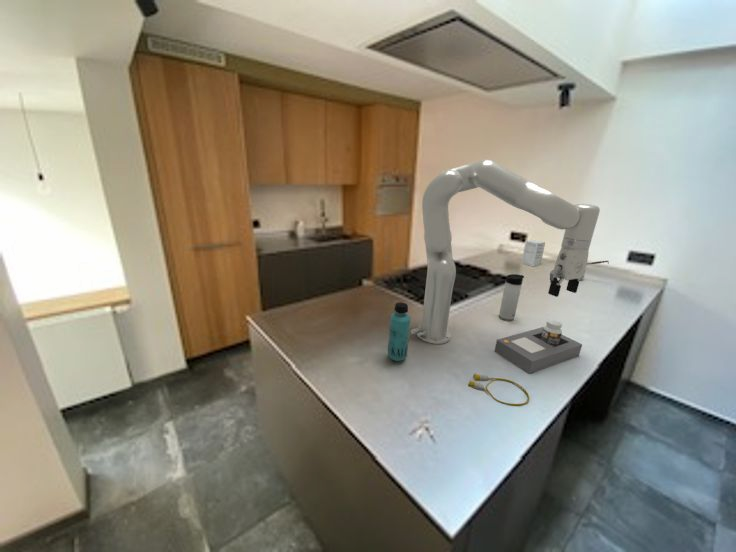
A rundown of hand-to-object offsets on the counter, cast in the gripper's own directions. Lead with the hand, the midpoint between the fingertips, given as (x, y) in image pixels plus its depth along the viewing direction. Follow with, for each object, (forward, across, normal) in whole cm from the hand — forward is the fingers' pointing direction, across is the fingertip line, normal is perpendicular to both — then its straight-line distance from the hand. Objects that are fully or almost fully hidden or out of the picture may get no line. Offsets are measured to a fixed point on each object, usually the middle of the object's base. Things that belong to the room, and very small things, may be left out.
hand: (562, 293), depth 103 cm
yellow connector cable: (+23, -34, -8) cm, 42 cm away
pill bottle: (+21, 0, 0) cm, 21 cm away
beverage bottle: (+22, -54, +16) cm, 60 cm away
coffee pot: (+22, +96, +44) cm, 108 cm away
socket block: (+22, -6, 0) cm, 23 cm away
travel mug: (+22, +7, +24) cm, 33 cm away
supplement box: (+22, +97, +80) cm, 128 cm away
